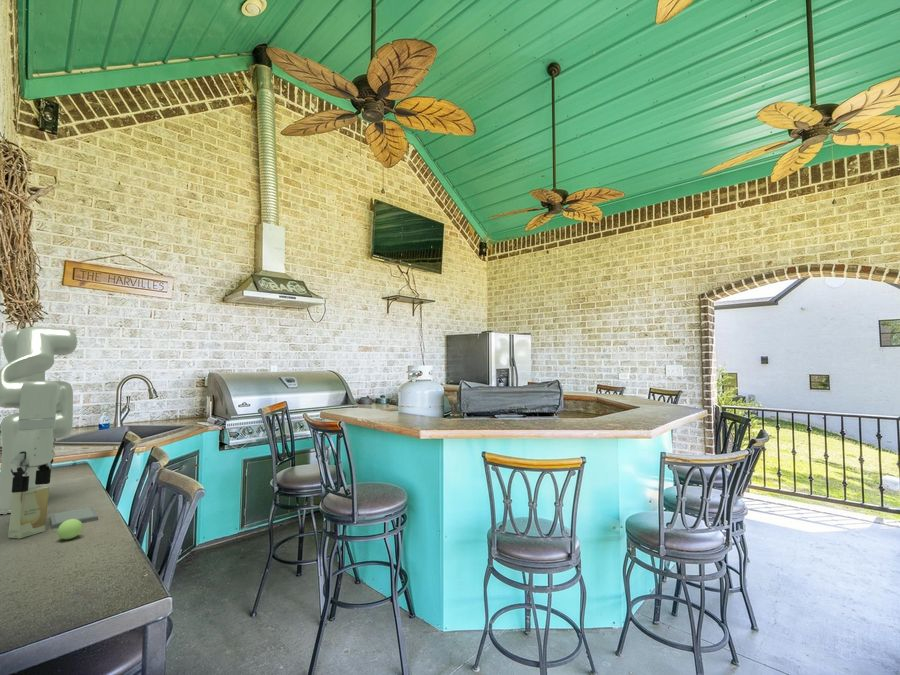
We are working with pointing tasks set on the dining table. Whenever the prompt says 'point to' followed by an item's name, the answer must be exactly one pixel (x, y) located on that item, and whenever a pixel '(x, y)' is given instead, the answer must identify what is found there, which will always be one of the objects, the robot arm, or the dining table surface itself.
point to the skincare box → (28, 512)
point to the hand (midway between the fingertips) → (31, 487)
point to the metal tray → (73, 516)
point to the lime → (69, 529)
